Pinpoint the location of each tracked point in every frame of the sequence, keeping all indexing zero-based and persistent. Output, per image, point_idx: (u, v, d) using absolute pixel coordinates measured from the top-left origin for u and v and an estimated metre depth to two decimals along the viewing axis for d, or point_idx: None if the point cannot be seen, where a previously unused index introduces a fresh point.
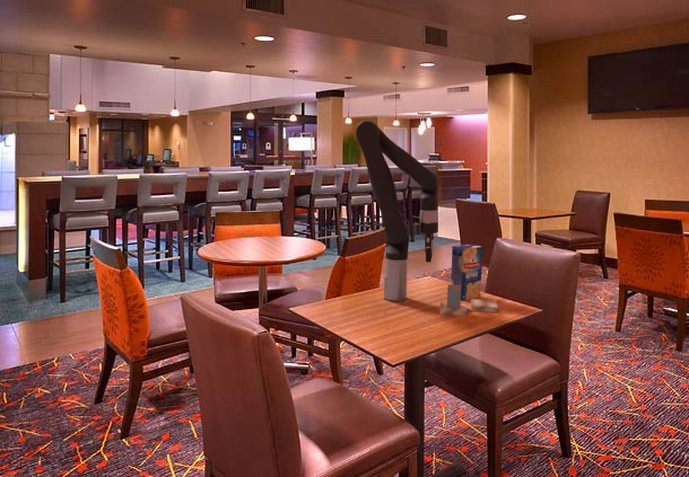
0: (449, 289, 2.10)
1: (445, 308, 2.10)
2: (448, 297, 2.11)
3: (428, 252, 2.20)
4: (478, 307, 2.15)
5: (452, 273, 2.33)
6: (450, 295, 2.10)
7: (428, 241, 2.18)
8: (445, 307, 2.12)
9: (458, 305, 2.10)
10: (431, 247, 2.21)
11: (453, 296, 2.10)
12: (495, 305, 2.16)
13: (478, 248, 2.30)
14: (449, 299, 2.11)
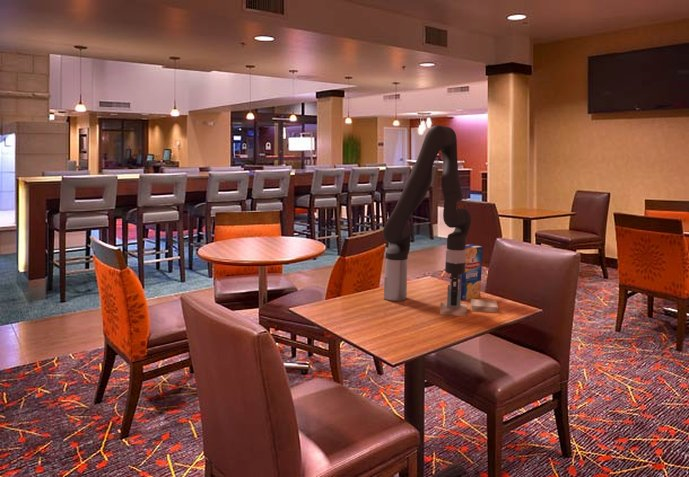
0: (449, 289, 2.10)
1: (445, 308, 2.10)
2: (448, 297, 2.11)
3: (454, 295, 2.08)
4: (478, 307, 2.15)
5: None
6: (450, 295, 2.10)
7: (454, 285, 2.05)
8: (445, 307, 2.12)
9: (458, 305, 2.10)
10: (457, 290, 2.09)
11: None
12: (495, 305, 2.16)
13: (478, 248, 2.30)
14: (449, 299, 2.11)
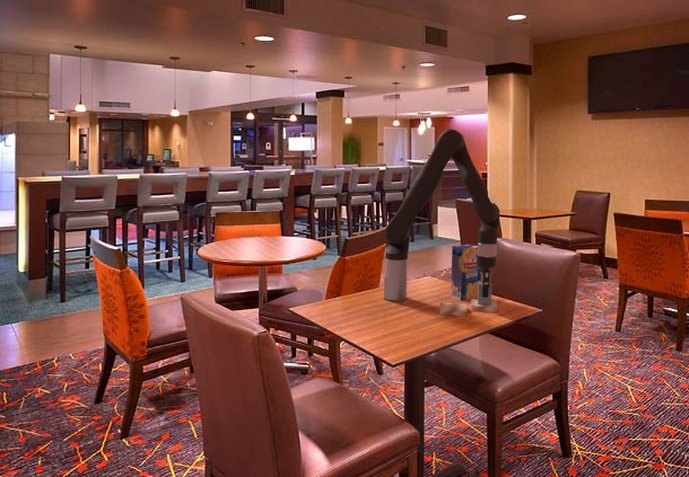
0: (480, 286, 2.16)
1: (445, 308, 2.10)
2: (479, 293, 2.16)
3: (486, 287, 2.12)
4: (478, 307, 2.15)
5: (452, 273, 2.33)
6: (481, 292, 2.16)
7: (487, 276, 2.10)
8: (445, 307, 2.12)
9: (489, 301, 2.16)
10: None
11: None
12: (495, 305, 2.16)
13: None
14: (480, 296, 2.16)
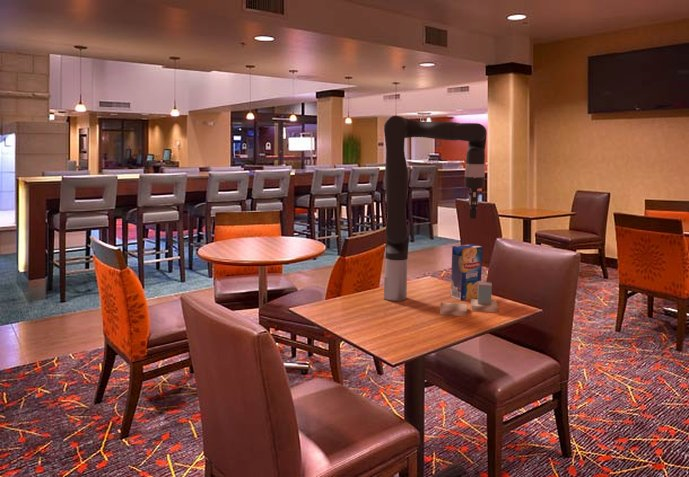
0: (480, 286, 2.16)
1: (445, 308, 2.10)
2: (479, 293, 2.16)
3: (473, 207, 2.10)
4: (478, 307, 2.15)
5: (452, 273, 2.33)
6: (481, 292, 2.16)
7: (474, 196, 2.08)
8: (445, 307, 2.12)
9: (489, 301, 2.16)
10: (476, 203, 2.11)
11: (484, 292, 2.16)
12: (495, 305, 2.16)
13: (478, 248, 2.30)
14: (480, 296, 2.16)
